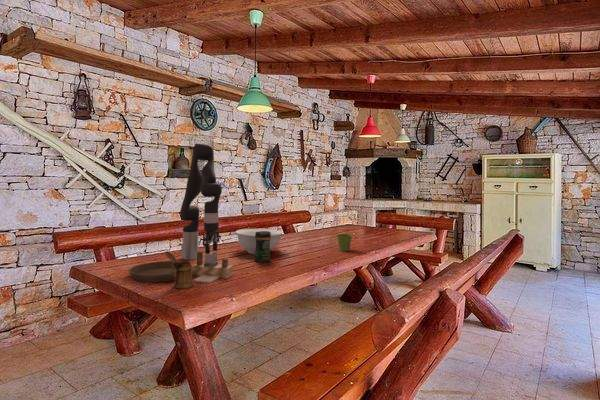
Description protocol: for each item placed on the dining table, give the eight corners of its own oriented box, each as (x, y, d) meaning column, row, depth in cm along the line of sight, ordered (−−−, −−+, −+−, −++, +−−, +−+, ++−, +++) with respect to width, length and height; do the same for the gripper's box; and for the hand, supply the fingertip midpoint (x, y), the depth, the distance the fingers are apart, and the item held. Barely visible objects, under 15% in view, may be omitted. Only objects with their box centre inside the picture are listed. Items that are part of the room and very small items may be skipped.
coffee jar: (258, 263, 227) (259, 232, 226) (252, 260, 233) (253, 230, 232) (272, 261, 232) (273, 231, 231) (266, 258, 239) (266, 229, 238)
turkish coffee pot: (160, 287, 173) (160, 249, 172) (187, 282, 183) (187, 245, 182) (170, 292, 167) (170, 252, 166) (197, 286, 177) (197, 248, 176)
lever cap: (204, 263, 195) (204, 253, 195) (208, 261, 199) (208, 252, 199) (213, 263, 194) (213, 254, 194) (216, 262, 198) (217, 252, 198)
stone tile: (193, 281, 185) (193, 279, 185) (202, 276, 193) (202, 275, 193) (210, 282, 183) (210, 281, 183) (218, 278, 191) (218, 276, 191)
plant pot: (341, 248, 279) (341, 233, 279) (355, 250, 272) (355, 235, 272) (332, 250, 270) (333, 235, 269) (347, 253, 263) (347, 237, 262)
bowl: (291, 251, 264) (291, 231, 263) (262, 259, 236) (263, 236, 235) (255, 246, 281) (255, 226, 280) (225, 253, 254) (225, 231, 253)
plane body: (191, 275, 196) (192, 252, 195) (198, 272, 203) (198, 250, 202) (227, 278, 191) (227, 255, 191) (232, 274, 198) (233, 252, 197)
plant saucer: (118, 275, 194) (118, 266, 194) (173, 265, 217) (173, 257, 217) (146, 288, 173) (146, 278, 173) (203, 276, 196) (203, 267, 196)
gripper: (210, 219, 203) (210, 249, 204) (198, 222, 190) (198, 254, 190) (223, 220, 202) (223, 250, 203) (211, 223, 188) (211, 255, 189)
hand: (211, 252), depth 196 cm, fingers open, 8 cm apart
